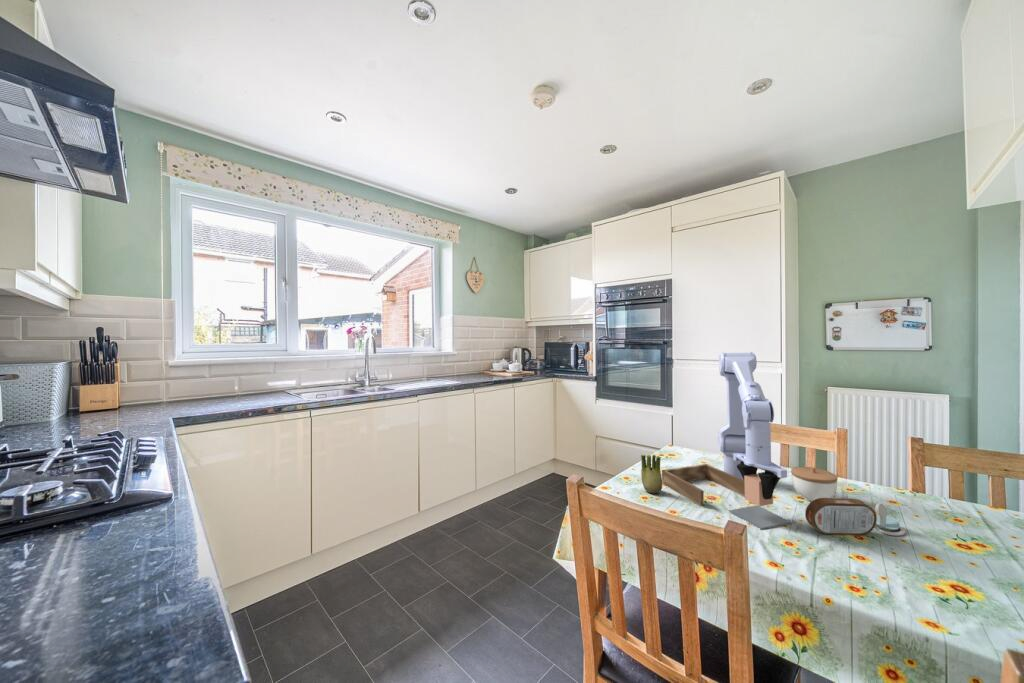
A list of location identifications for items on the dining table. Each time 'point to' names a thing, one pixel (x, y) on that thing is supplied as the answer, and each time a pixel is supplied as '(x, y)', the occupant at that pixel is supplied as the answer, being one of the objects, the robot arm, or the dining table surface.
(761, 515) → the mat
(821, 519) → the tin
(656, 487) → the fennel bulb
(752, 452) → the robot arm
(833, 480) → the lidded jar
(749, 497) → the block
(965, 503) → the dining table surface
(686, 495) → the open frame
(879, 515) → the pacifier
